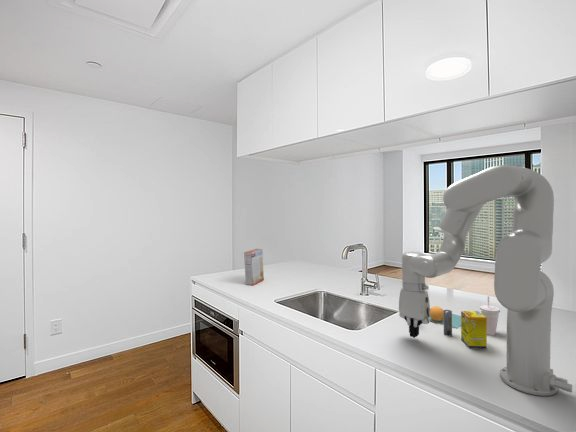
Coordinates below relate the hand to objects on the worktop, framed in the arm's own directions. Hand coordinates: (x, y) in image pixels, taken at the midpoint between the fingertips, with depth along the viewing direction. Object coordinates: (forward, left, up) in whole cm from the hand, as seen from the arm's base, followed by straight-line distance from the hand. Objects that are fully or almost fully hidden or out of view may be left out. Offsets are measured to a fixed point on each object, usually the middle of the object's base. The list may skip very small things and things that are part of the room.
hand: (414, 335), depth 113 cm
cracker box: (+110, -7, -2) cm, 110 cm away
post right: (-7, -13, -2) cm, 15 cm away
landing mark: (0, -28, -2) cm, 28 cm away
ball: (+2, -23, +2) cm, 23 cm away
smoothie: (-17, -25, -2) cm, 30 cm away
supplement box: (-16, -11, -2) cm, 19 cm away
